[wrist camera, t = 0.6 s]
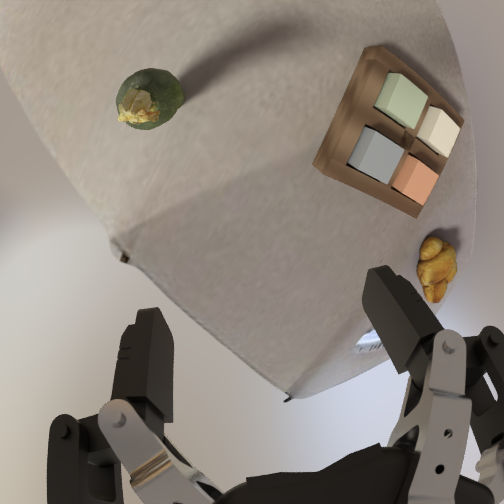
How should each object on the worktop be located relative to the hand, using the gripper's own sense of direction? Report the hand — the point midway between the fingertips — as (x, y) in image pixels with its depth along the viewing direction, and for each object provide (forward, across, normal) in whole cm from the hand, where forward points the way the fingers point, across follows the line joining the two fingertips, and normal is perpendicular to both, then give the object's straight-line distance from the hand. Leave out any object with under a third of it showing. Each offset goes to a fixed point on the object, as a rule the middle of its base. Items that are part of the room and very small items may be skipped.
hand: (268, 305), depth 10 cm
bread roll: (+26, -37, +24) cm, 51 cm away
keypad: (+25, -23, 0) cm, 34 cm away
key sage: (+22, -21, -6) cm, 31 cm away
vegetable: (+26, +5, -8) cm, 27 cm away
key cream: (+22, -28, -2) cm, 36 cm away
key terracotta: (+22, -24, +5) cm, 34 cm away
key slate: (+22, -17, +2) cm, 28 cm away
